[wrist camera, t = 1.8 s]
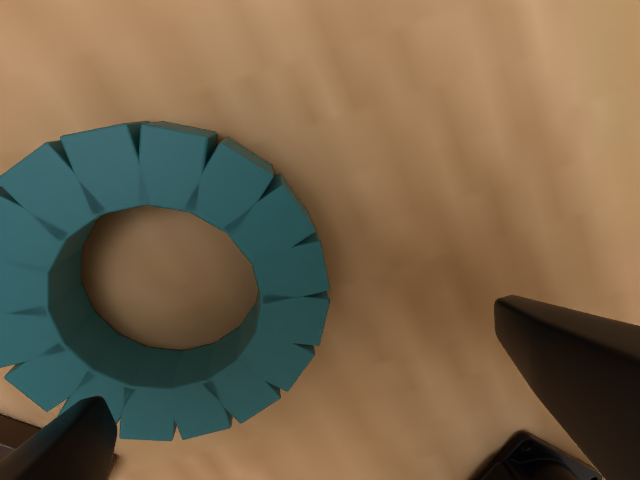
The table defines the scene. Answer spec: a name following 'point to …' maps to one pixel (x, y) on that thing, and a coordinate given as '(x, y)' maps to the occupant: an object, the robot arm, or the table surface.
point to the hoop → (101, 339)
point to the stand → (19, 436)
